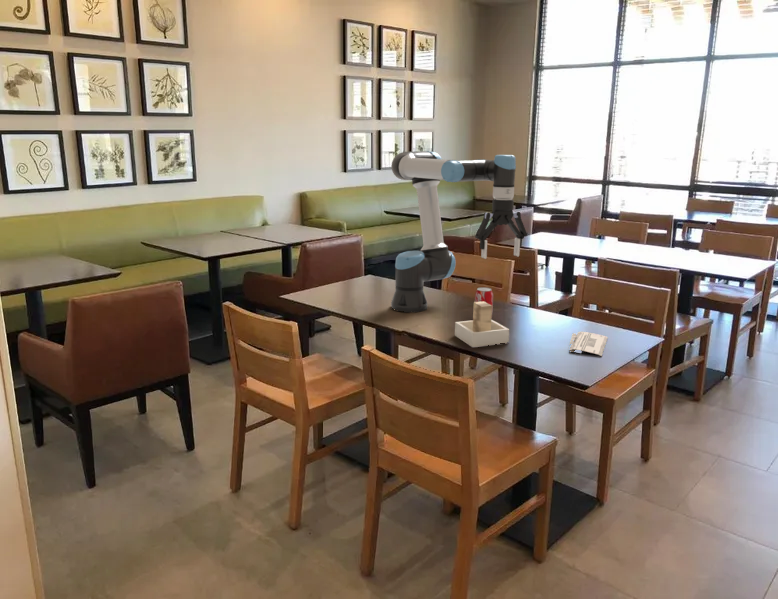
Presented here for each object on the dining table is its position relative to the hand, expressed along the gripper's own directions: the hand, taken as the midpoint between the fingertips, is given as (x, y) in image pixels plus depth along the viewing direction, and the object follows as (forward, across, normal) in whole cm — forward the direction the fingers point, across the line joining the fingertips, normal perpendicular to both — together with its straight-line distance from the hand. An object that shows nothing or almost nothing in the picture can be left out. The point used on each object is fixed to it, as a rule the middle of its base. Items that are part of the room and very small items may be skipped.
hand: (500, 256), depth 230 cm
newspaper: (+28, +18, -30) cm, 45 cm away
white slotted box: (+27, -13, -12) cm, 32 cm away
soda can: (+27, 0, +11) cm, 29 cm away
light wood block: (+26, -13, -12) cm, 31 cm away
